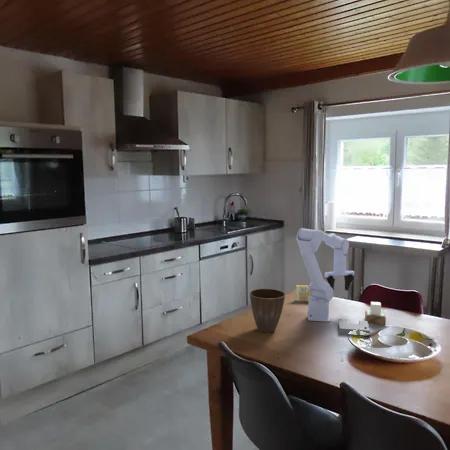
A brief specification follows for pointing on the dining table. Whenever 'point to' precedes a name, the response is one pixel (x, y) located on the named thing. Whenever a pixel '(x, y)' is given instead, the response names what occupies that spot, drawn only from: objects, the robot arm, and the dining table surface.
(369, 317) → the walnut stand
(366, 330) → the slate notch board
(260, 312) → the plant pot
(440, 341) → the dining table surface
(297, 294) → the candy box
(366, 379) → the dining table surface
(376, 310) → the cream block
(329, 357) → the dining table surface
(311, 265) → the robot arm
